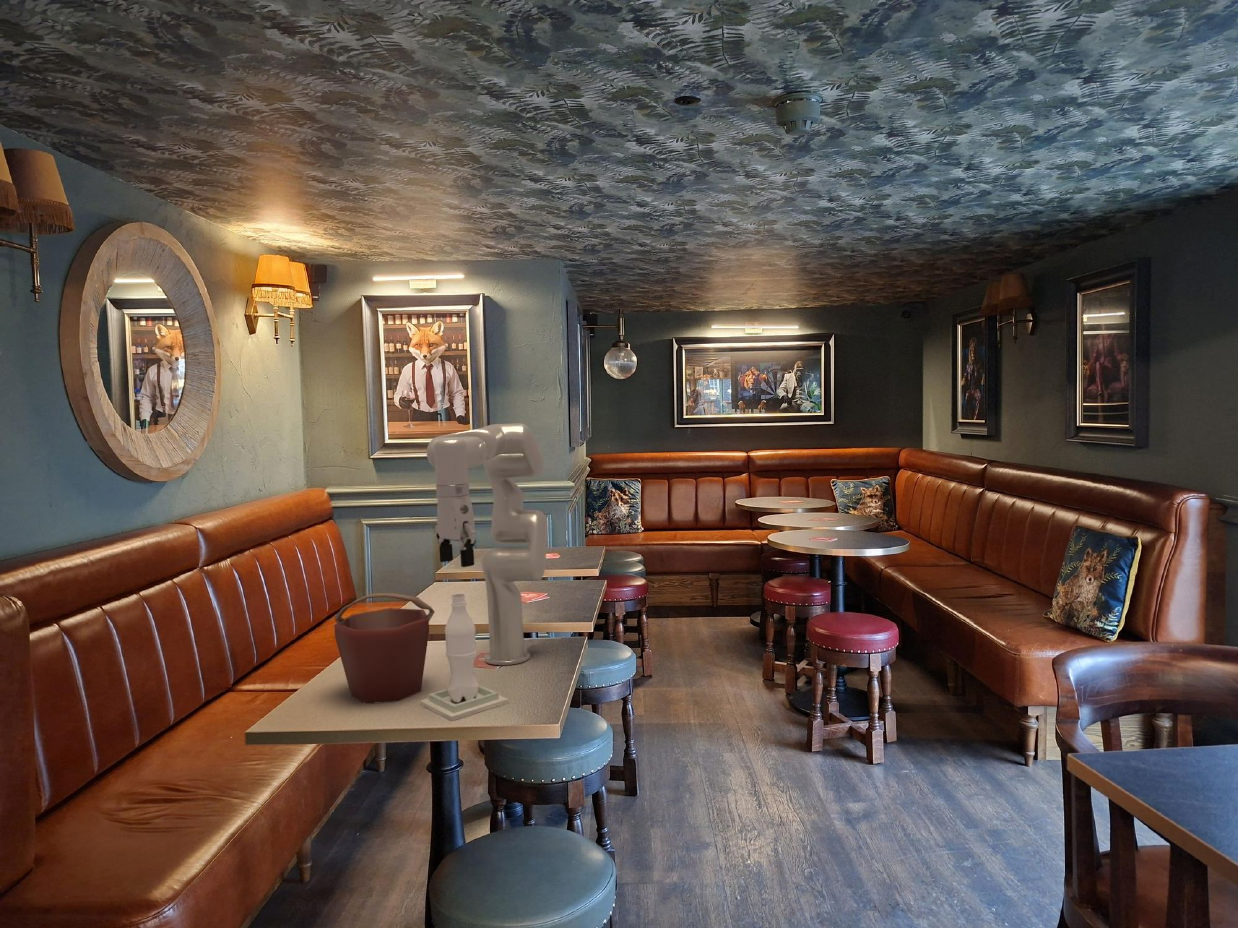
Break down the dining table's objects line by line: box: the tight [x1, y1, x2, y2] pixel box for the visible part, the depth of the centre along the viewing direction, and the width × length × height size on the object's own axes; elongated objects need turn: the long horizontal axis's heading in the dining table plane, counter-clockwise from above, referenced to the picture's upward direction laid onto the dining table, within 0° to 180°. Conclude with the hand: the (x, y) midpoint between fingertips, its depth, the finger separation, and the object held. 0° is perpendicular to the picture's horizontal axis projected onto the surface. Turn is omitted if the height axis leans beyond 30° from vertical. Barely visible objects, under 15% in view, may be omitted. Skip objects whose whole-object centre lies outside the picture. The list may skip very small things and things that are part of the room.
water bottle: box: [444, 593, 479, 703], centre depth 188 cm, size 7×7×25 cm
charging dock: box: [419, 683, 509, 722], centre depth 188 cm, size 15×15×2 cm
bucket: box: [333, 592, 436, 704], centre depth 198 cm, size 24×22×25 cm
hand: (457, 563), depth 187 cm, fingers open, 9 cm apart
